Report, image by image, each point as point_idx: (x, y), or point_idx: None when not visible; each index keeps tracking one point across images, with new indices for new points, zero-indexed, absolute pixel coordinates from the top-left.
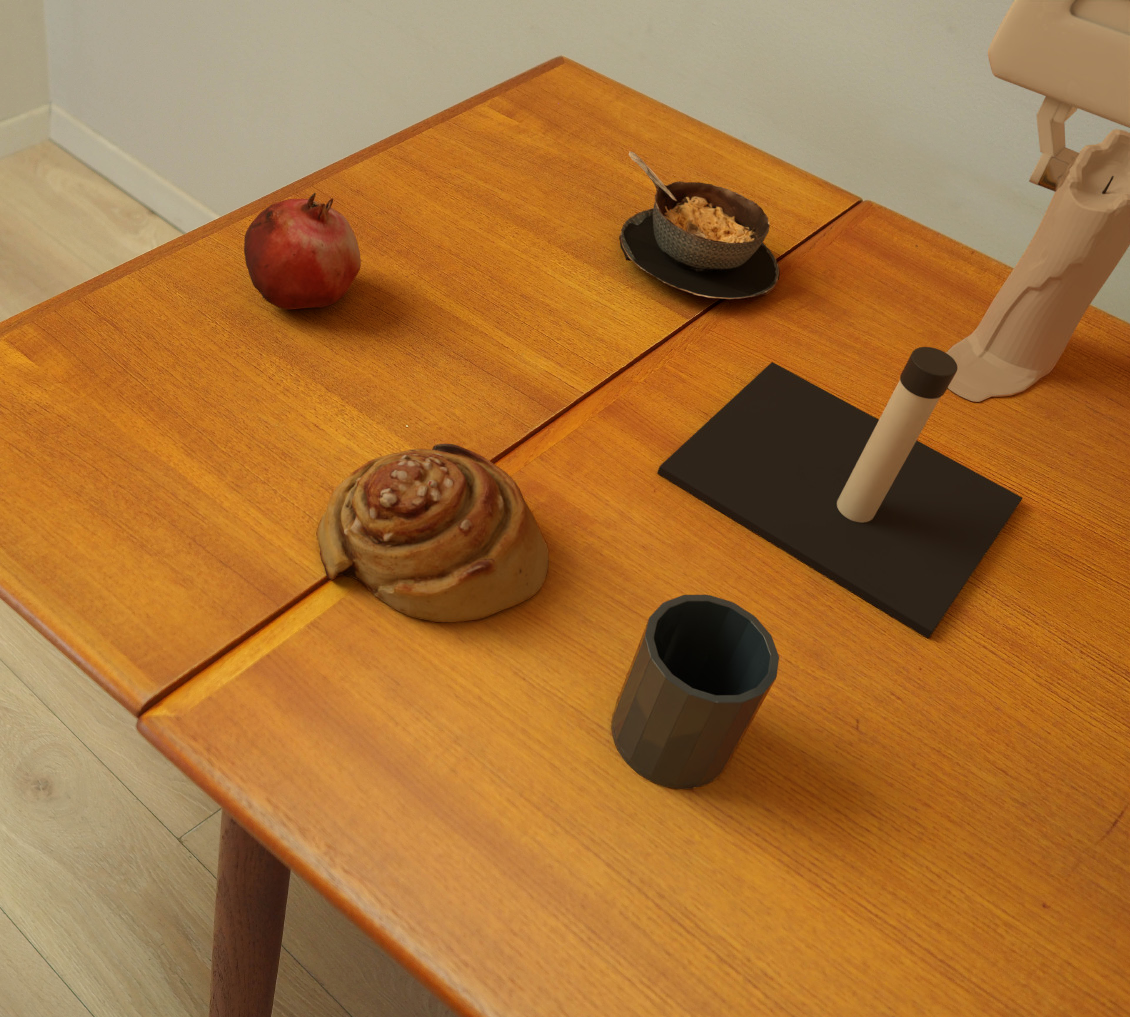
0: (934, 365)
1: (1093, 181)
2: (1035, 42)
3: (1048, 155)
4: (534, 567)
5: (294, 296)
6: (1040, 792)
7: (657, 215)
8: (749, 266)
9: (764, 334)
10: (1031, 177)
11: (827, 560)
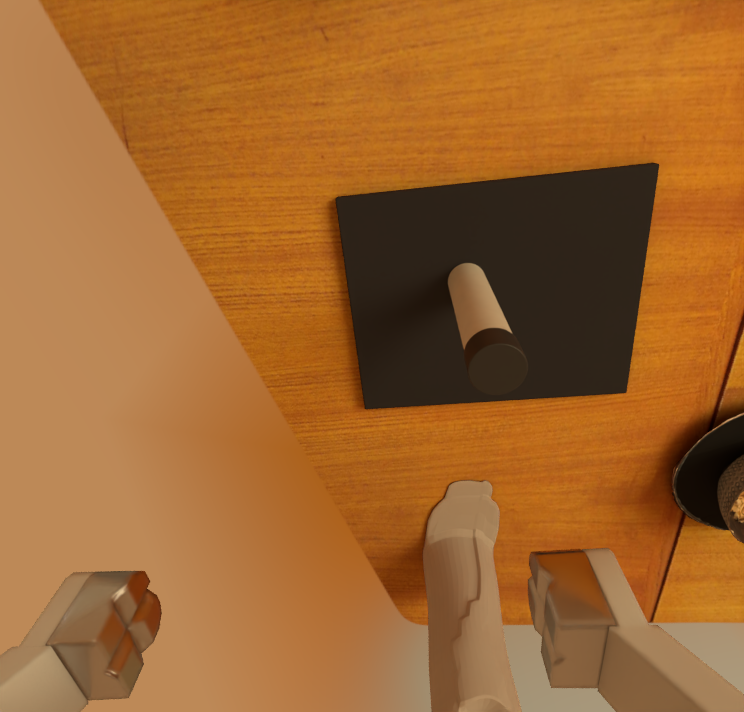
0: (494, 361)
1: None
2: None
3: (628, 625)
4: None
5: None
6: (179, 117)
7: None
8: (706, 489)
9: (648, 425)
10: (610, 555)
11: (452, 195)
